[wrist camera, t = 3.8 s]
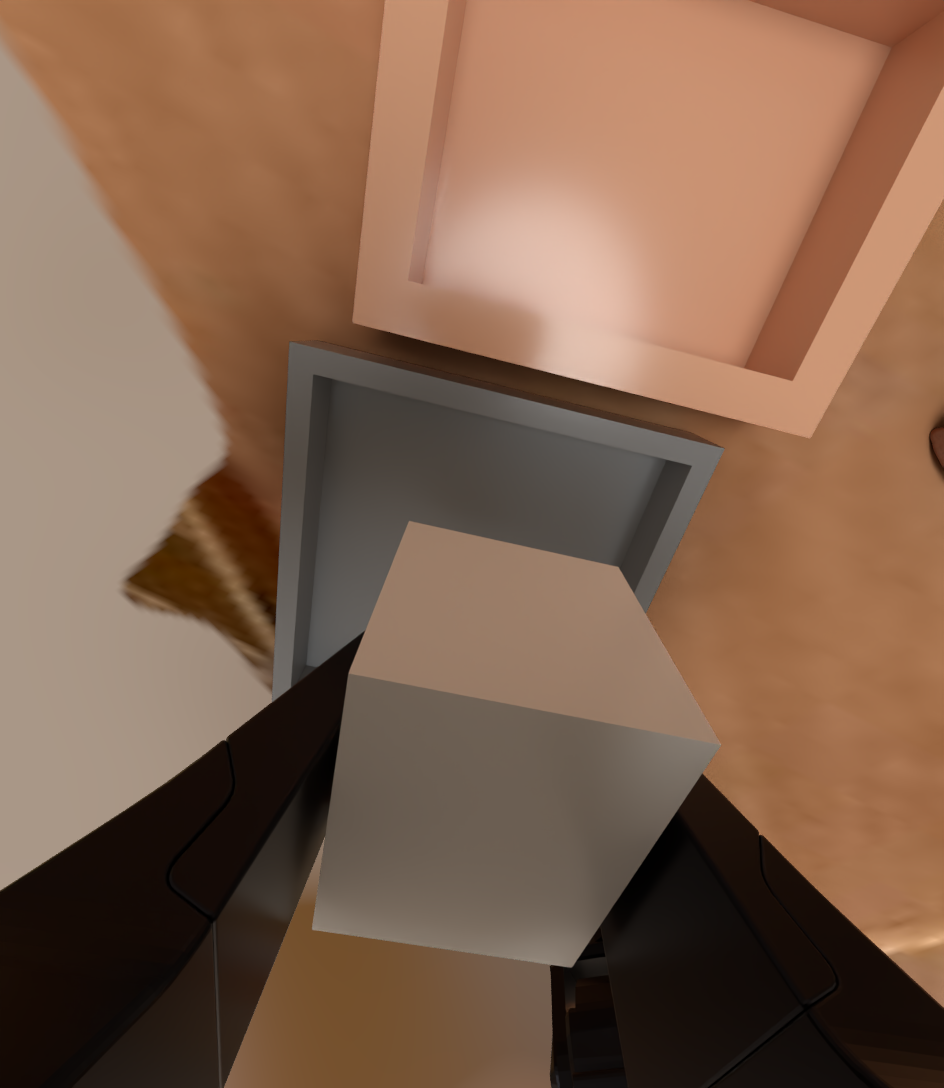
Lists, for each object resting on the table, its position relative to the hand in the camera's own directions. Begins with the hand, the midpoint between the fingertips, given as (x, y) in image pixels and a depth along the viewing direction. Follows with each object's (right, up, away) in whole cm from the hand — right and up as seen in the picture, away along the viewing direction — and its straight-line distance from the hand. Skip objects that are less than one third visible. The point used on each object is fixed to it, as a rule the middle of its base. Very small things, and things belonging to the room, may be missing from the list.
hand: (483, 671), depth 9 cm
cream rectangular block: (0, 0, +1) cm, 1 cm away
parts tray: (-1, +2, +11) cm, 11 cm away
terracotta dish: (+5, +14, +5) cm, 16 cm away
